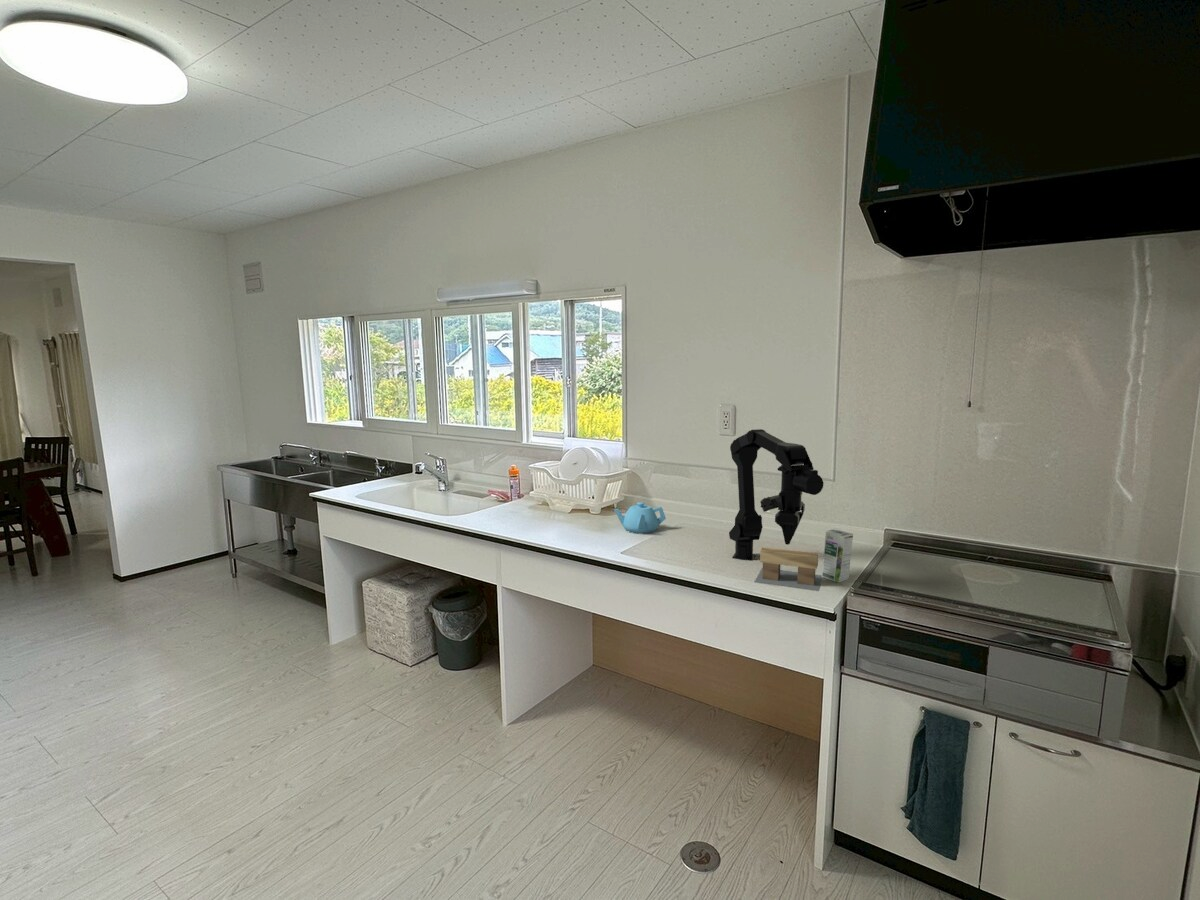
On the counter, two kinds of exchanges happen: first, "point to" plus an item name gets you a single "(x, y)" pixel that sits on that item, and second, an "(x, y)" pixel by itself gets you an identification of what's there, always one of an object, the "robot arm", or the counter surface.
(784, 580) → the mat
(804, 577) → the block
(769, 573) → the block
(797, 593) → the counter surface
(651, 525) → the teapot
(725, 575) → the counter surface
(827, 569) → the syrup box
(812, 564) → the plank
